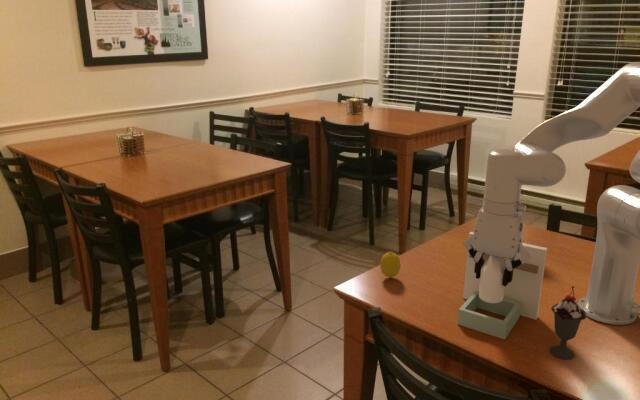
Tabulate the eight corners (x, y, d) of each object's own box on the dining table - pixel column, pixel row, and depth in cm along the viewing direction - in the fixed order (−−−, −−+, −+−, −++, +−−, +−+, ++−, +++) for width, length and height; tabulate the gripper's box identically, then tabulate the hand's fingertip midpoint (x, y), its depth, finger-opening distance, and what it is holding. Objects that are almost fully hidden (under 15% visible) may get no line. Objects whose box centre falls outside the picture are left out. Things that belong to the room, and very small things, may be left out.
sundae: (569, 343, 115) (579, 282, 110) (585, 361, 109) (596, 297, 104) (539, 344, 115) (548, 282, 110) (553, 362, 108) (563, 298, 104)
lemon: (384, 283, 142) (385, 257, 140) (377, 275, 147) (377, 248, 145) (403, 281, 144) (404, 254, 141) (395, 272, 149) (396, 246, 146)
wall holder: (537, 317, 125) (547, 248, 120) (520, 344, 115) (530, 270, 109) (465, 296, 135) (470, 231, 130) (443, 319, 125) (448, 250, 119)
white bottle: (502, 257, 114) (478, 250, 118) (496, 306, 118) (473, 297, 121) (513, 249, 118) (490, 242, 122) (507, 296, 122) (484, 288, 126)
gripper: (546, 208, 113) (535, 284, 119) (469, 194, 122) (462, 265, 128) (536, 218, 107) (526, 297, 113) (456, 203, 117) (450, 276, 122)
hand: (492, 279), depth 120 cm, fingers closed on white bottle, 5 cm apart
